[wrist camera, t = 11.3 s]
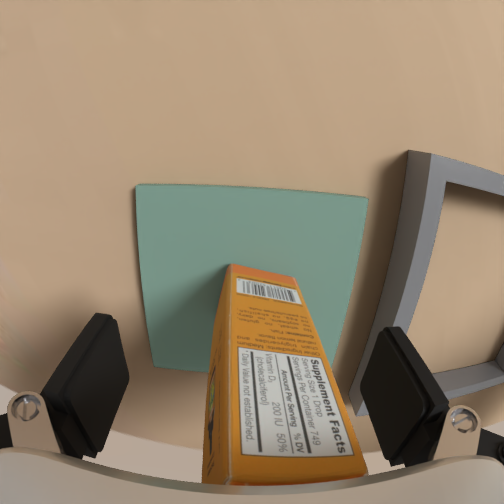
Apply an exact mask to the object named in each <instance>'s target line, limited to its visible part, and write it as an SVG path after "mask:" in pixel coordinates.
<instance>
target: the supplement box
mask: <svg viewBox="0 0 504 504" xmlns="http://www.w3.org/2000/svg"><path fill="white" fill-rule="evenodd" d="M364 476H368V470H367V466H366V463H365V460H364V458H363V455H362V452H361V449H360V446H359V443H358V441H357V438H356V435H355V433H354V430H353V426H352V424H351V421H350V419H349V416H348V413H347V410H346V408H345V405H344V402H343V400H342V397H341V394H340V392H339V389H338V386H337V383H336V380H335V377H334V375H333V372H332V370H331V367H330V365H329V362H328V359H327V357H326V354H325V352H324V349H323V346H322V344H321V341H320V338H319V335H318V333H317V330H316V328H315V326H314V323H313V320H312V318H311V315H310V313H309V310H308V308H307V305H306V303H305V301H304V298H303V296H302V293H301V290H300V288H299V286H298V283H297V281H296V279H295V278H294V277H292V276H287V275H283V274H278V273H273V272H268V271H263V270H259V269H254V268H250V267H246V266H241V265H237V264H230V265H229V266H228V268H227V271H226V274H225V278H224V282H223V286H222V290H221V294H220V298H219V303H218V308H217V312H216V316H215V321H214V328H213V336H212V345H211V355H210V366H209V376H208V385H207V397H206V411H205V427H204V444H203V465H202V483H204V484H217V485H235V486H281V485H299V484H312V483H322V482H331V481H338V480H346V479H352V478H358V477H364Z"/></svg>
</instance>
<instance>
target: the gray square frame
mask: <svg viewBox="0 0 504 504" xmlns="http://www.w3.org/2000/svg"><path fill="white" fill-rule="evenodd" d="M446 181H448V182H452V183H457V184H461V185H465V186H469V187H473V188H477V189H481V190H484V191H488V192H492V193H495V194H499V195H502V196H504V175H501V174H498V173H495V172H492V171H489V170H486V169H483V168H480V167H477V166H474V165H471V164H467V163H464V162H461V161H457V160H454V159H450V158H447V157H443V156H439V155H435V154H431V153H425V152H419V151H413V150H408V160H407V168H406V176H405V183H404V190H403V196H402V202H401V208H400V214H399V220H398V225H397V230H396V235H395V240H394V245H393V249H392V254H391V258H390V263H389V267H388V271H387V275H386V279H385V283H384V287H383V291H382V294H381V298H380V302H379V305H378V309H377V312H376V315H375V319H374V322H373V325H372V329H371V332H370V335H369V338H368V341H367V344H366V347H365V350H364V353H363V356H362V359H361V362H360V364H359V367H358V370H357V373H356V375H355V378H354V381H353V383H352V386H351V389H350V391H349V394H348V395H349V398H350V401H351V404H352V407H353V409H354V413H355V416H364V415H369V413H368V411H367V408H366V405H365V403H364V400H363V397H362V395H361V392H360V383H361V380H362V377H363V375H364V372H365V370H366V367H367V364H368V362H369V359H370V356H371V354H372V351H373V348H374V345H375V342H376V339H377V336H378V334H379V332H380V331H383V329H384V328H385V327H395V326H399V327H401V328H402V330H403V331H404V333H405V334H407V331H408V328H409V325H410V323H411V320H412V317H413V314H414V311H415V308H416V305H417V302H418V299H419V296H420V293H421V290H422V286H423V283H424V280H425V276H426V273H427V269H428V265H429V262H430V258H431V254H432V250H433V246H434V242H435V237H436V233H437V229H438V224H439V219H440V214H441V209H442V203H443V198H444V192H445V185H446ZM432 375H433V377H434V378H435V380H436V381H437V383H438V385H439V386H440V388H441V389H442V391H443V393H444V394H445V396H446V398H447V399H452V398H456V397H460V396H463V395H467V394H470V393H473V392H477V391H480V390H483V389H486V388H489V387H492V386H495V385H498V384H501V383H504V344H503V346H502V347H501V349H500V351H499V353H498V355H497V357H496V359H495V360H494V361H490V362H486V363H482V364H478V365H474V366H469V367H465V368H460V369H455V370H450V371H445V372H440V373H434V374H432Z"/></svg>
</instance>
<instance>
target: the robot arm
mask: <svg viewBox="0 0 504 504" xmlns="http://www.w3.org/2000/svg"><path fill="white" fill-rule="evenodd" d="M128 382H129V372H128V368H127V364H126V360H125V356H124V352H123V347H122V343H121V339H120V334H119V329H118V324H117V321H116V320H115V319H113V317H112V316H111V315H109V314H101V313H95V314H94V316H93V317H92V318H91V320H90V321H89V322H88V324H87V325H86V326H85V328H84V329H83V331H82V332H81V333H80V335H79V336H78V338H77V339H76V340H75V342H74V343H73V345H72V346H71V348H70V349H69V351H68V352H67V353H66V355H65V356H64V358H63V359H62V361H61V362H60V364H59V365H58V367H57V368H56V370H55V371H54V373H53V374H52V376H51V378H50V379H49V381H48V382H47V384H46V385H45V387H44V389H43V390H42V392H41V393H40V395H39V394H38V393H36V392H33V391H24V392H21V393H18V394H17V395H15V396H14V397H13V398H12V399H11V400H10V402H9V404H8V407H7V413H6V414H3V415H0V504H504V437H502V436H500V435H497V434H495V433H492V432H490V431H487V430H484V429H482V428H481V420H480V417H479V415H478V414H477V413H476V412H475V411H474V410H473V409H472V408H470V407H468V406H464V405H456V406H454V407H452V408H451V409H450V408H449V406H448V404H449V401H448V399H447V398H446V396H445V394H444V393H443V391H442V389H441V388H440V386H439V385H438V383H437V381H436V380H435V378H434V377H433V375H432V373H431V372H430V370H429V369H428V367H427V366H426V364H425V363H424V361H423V360H422V358H421V356H420V355H419V353H418V352H417V350H416V349H415V347H414V346H413V344H412V343H411V342H410V340H409V339H408V337H407V336H406V334H405V333H404V331H403V330H402V328H401V327H399V326H395V327H385V328H384V329H383V331H380V332H379V334H378V336H377V339H376V342H375V345H374V348H373V351H372V354H371V356H370V359H369V362H368V364H367V367H366V370H365V372H364V375H363V377H362V380H361V383H360V392H361V395H362V397H363V400H364V403H365V405H366V408H367V411H368V413H369V416H370V419H371V422H372V424H373V427H374V430H375V433H376V435H377V438H378V441H379V444H380V447H381V450H382V453H383V455H384V458H385V459H386V460H389V462H390V465H391V466H395V465H400V464H404V465H405V467H406V468H402V469H397V470H393V471H389V472H384V473H379V474H375V475H369V476H364V477H358V478H352V479H346V480H338V481H331V482H322V483H312V484H299V485H281V486H235V485H217V484H204V483H193V482H185V481H177V480H170V479H164V478H157V477H152V476H146V475H142V474H136V473H132V472H128V471H123V470H119V469H115V468H110V467H106V466H103V465H99V464H95V463H91V462H88V461H85V460H82V458H83V455H86V456H89V457H92V458H96V455H97V453H98V452H101V451H102V450H103V448H104V445H105V442H106V439H107V436H108V434H109V431H110V429H111V426H112V423H113V421H114V418H115V415H116V413H117V410H118V408H119V405H120V402H121V400H122V397H123V395H124V392H125V390H126V387H127V385H128Z"/></svg>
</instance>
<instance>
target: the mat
mask: <svg viewBox="0 0 504 504" xmlns="http://www.w3.org/2000/svg"><path fill="white" fill-rule="evenodd" d="M368 200H369V199H367V198H366V197H362V196H353V195H344V194H334V193H324V192H313V191H302V190H290V189H276V188H261V187H244V186H223V185H195V184H138V185H136V214H137V233H138V248H139V260H140V271H141V281H142V291H143V299H144V307H145V315H146V322H147V329H148V335H149V342H150V348H151V354H152V359H153V365H154V367H159V368H168V369H177V370H187V371H198V372H209V366H210V355H211V345H212V336H213V328H214V321H215V316H216V312H217V308H218V303H219V298H220V294H221V290H222V286H223V282H224V278H225V274H226V271H227V268H228V266H229V265H230V264H237V265H241V266H246V267H250V268H254V269H259V270H263V271H268V272H273V273H278V274H283V275H287V276H292V277H294V278H295V279H296V281H297V283H298V286H299V288H300V290H301V293H302V296H303V298H304V301H305V303H306V305H307V308H308V310H309V313H310V315H311V318H312V320H313V323H314V326H315V328H316V330H317V333H318V335H319V338H320V341H321V344H322V346H323V349H324V352H325V354H326V357H327V359H328V362H329V365H330V367H332V364H333V361H334V357H335V354H336V350H337V347H338V343H339V339H340V336H341V332H342V328H343V324H344V320H345V316H346V312H347V308H348V304H349V300H350V295H351V291H352V287H353V282H354V277H355V273H356V268H357V263H358V258H359V253H360V248H361V242H362V237H363V231H364V225H365V219H366V213H367V206H368Z"/></svg>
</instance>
